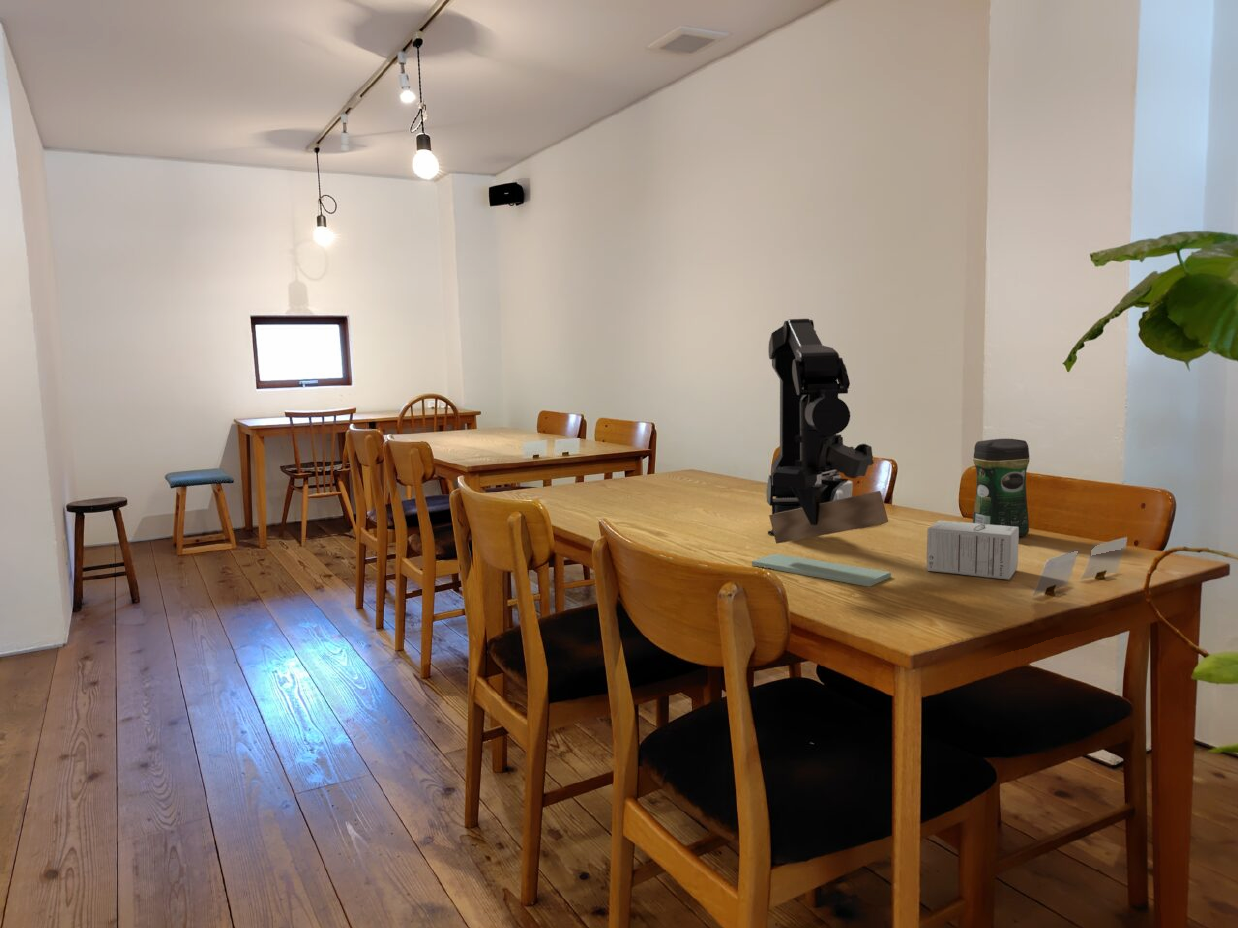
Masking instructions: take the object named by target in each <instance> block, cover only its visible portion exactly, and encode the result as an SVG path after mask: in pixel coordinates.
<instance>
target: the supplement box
mask: <svg viewBox="0 0 1238 928" xmlns="http://www.w3.org/2000/svg"><path fill="white" fill-rule="evenodd" d="M926 537H927V538H926V539H927V540H926V571H928V572H935V573H945V574H954V575H955V574H956V575H961V576H962V575H963V576H964V575H965V576H970V577H971V576H973V577H980V578H988V579H995V580H996V579H998V580H1007V581H1009V580H1010V579H1011V578H1012V576H1013V575H1014V574H1015V572H1016V571H1017V570H1018V565H1019V564H1018V563H1019V537H1020V536H1019V527H1014V526H1002V525H989V524H978V523H973V522H963V521H951V520H950V521H949V520H937V521H936V522H935V523H934V524H932V526H930V527H928V528H927V535H926Z"/></svg>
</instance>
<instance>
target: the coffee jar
mask: <svg viewBox="0 0 1238 928" xmlns="http://www.w3.org/2000/svg"><path fill="white" fill-rule="evenodd" d="M1029 449H1030V448H1029V444H1028V442H1027V441H1026V440H1023V439H1017V438H1016V439H1015V438H995V439H986V440H979V441H976V443H975V444H974V449H973V450H974V452H973V460H972V461H973V465H974V466H975V470H976V490H975V501H974V508H973V517H972V523H978V524H989V525H1002V526H1014V527H1019V537H1023V536H1026V535H1028V534H1029V532H1030V521H1029V509H1028V500H1027V499H1028V497H1027V471H1028V470H1027V469H1028V466H1029V464H1030V459H1031V458H1030V450H1029Z"/></svg>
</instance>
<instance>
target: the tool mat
mask: <svg viewBox="0 0 1238 928" xmlns="http://www.w3.org/2000/svg"><path fill="white" fill-rule="evenodd" d="M752 565H753V566H752ZM751 566H752V567H757V566H758V567H757V568H762V567H763V566H765V567H764V569H768V568H771V569H770V570H773V569H774V570H775V571H780V572H785V573H791V574H797V575H802V576H803V575H804V576H807V577H808V576H809V577H814V578H818V579H824V580H831V581H835V582H841V583H847V584H852V585H853V584H854V585H859V586H864V587H868V588H869V587H872V586H874V585H876V584H878V583H880V582H883V581H885V580H887V579H890V578H891V577H892V572H891V571H887V570H886V571H884V570H879V569H871V568H867V567H860V566H855V565H854V566H853V565H848V564H842V563H835V562H830V561H824V560H823V561H822V560H818V559H817V560H816V559H811V558H807V557H806V558H805V557H799V556H794V555H787V554H780V553H772V554H769V555H767V556H766V555H765V556H763V557H760V558H757V559H754V560H751Z"/></svg>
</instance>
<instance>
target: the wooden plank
mask: <svg viewBox="0 0 1238 928" xmlns="http://www.w3.org/2000/svg"><path fill="white" fill-rule="evenodd" d="M768 517H769V520H770V524H771V530H772V529H773V533H774V535H773V536H774V540H775V543H776V545H778V544H783V543H787V542H794V541H799V540H804V539H809V538H810V539H811V538H816V537H820V536H826V535H830V534H836V533H842V532H847V531H853V530H859V529H865V528H869V527H875V526H881V525H883V524H886V523H889V517H888V515H887V510H886V507H885V502H884V500H883V495H882V491H881V490H877V491H872V492H868V493H864V494H860V495H859V494H858V495H855V496H852V497H849V498H844V499H840V500H835V501H831V502H826V503H821V504H820V506H819V516H818V523H817V525H811V524H810V522H809V520H808V518H807V516H806V514H805V512H804V510H803V508H798V509H793V510H789V511H784V512H780V513H775V514H772V513H771V514H769V515H768Z"/></svg>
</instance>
